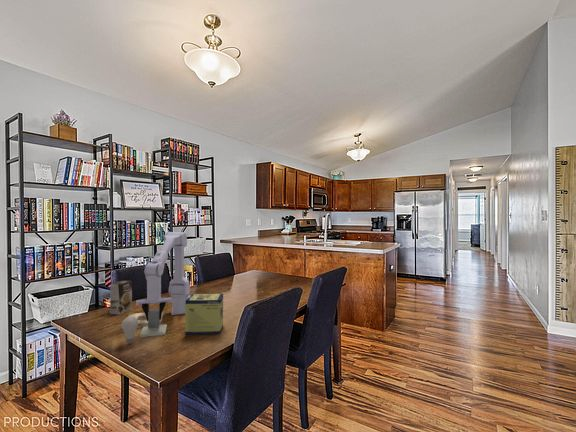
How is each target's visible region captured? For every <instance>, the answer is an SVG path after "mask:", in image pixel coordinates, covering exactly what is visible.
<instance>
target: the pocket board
mask: <svg viewBox="0 0 576 432" xmlns="http://www.w3.org/2000/svg"><path fill="white" fill-rule="evenodd" d="M127 317H134V318H136V319H137V321H138V326H137V328H136V329H141V328H142V329H143V327H146V326H148V321H147V319H146V315H145V313H144V312H139V313H137V312H136V313H129V314H128V315H127ZM163 317H164V311H163V312H162V316H161V320H160V325H162V321H163Z"/></svg>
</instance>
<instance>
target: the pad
mask: <svg viewBox="0 0 576 432" xmlns="http://www.w3.org/2000/svg"><path fill="white" fill-rule="evenodd" d="M167 327H168V325H167V324H166V323H165V324H161V325H160V326H159V328H152V329H148V326H146V327H142V330H141V332H140V335H139V337H140V338H146V337H155V336H164V335H166V331H167Z"/></svg>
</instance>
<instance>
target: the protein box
mask: <svg viewBox="0 0 576 432" xmlns="http://www.w3.org/2000/svg"><path fill="white" fill-rule="evenodd" d="M189 295H190V296H189V298H188V299H186V303H185V314H184V315H185V323H184V326H185V327H184V335H185V336H196V335H197V336H202V335H203V336H204V335H209V334H213V335H220V334H221V332H222V329H223V327H224V293H199V294H198V293H192V294H189Z"/></svg>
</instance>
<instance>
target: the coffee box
mask: <svg viewBox="0 0 576 432" xmlns="http://www.w3.org/2000/svg"><path fill="white" fill-rule="evenodd" d="M109 286H110V293H109V295H110V296H109V297H110V299H109V300H110V301H109V305H110V306H109V314H110V315H118V316H120V315H122V314H123V315H124V314H125V313H127V312H130V311H133V304H132V303H133V293H132V292H133V289H132V288H133V281H132V280H119V281H116V282H112V283H110V285H109Z"/></svg>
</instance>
